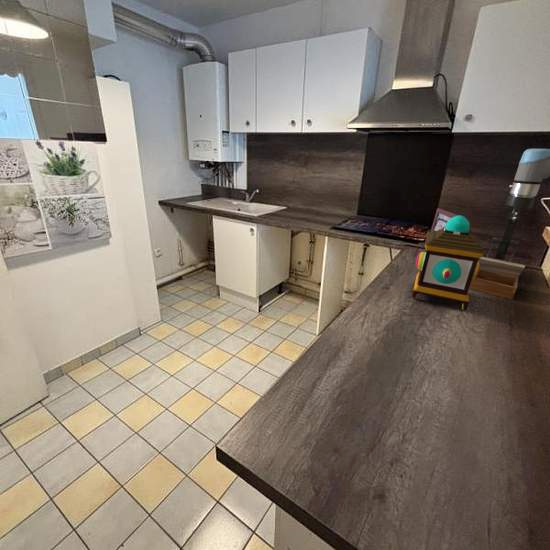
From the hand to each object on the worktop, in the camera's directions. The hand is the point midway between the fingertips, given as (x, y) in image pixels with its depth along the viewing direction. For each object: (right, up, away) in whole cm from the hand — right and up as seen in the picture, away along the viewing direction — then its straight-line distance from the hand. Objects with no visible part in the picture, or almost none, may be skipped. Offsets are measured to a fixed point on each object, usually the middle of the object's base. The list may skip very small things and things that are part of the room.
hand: (499, 258), depth 112 cm
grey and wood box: (0, -3, +1) cm, 4 cm away
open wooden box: (-1, -12, +4) cm, 12 cm away
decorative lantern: (-26, -14, -3) cm, 30 cm away
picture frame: (-6, -1, +28) cm, 29 cm away
